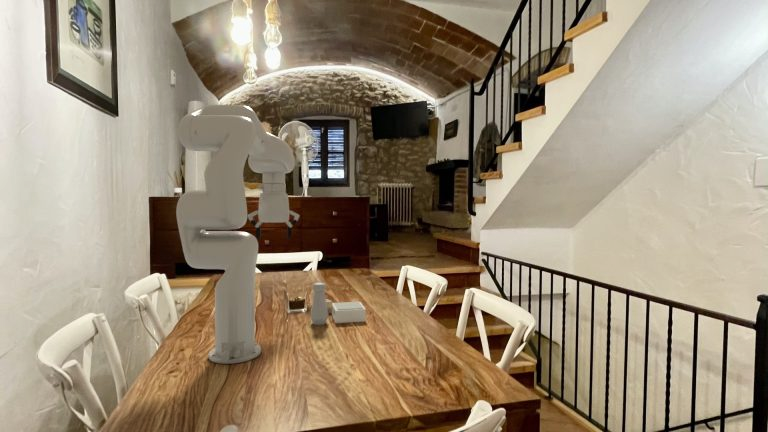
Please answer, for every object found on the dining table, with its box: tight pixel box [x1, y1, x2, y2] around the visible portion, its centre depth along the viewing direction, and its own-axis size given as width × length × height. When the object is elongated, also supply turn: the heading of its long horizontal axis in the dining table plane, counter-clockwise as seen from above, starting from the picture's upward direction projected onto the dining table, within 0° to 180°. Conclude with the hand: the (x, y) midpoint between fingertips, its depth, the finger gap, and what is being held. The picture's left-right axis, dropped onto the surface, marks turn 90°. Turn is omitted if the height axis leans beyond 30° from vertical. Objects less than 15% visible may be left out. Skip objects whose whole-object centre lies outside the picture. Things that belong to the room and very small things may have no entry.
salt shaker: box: [310, 282, 329, 326], centre depth 131 cm, size 6×6×13 cm
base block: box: [331, 301, 367, 324], centre depth 137 cm, size 10×10×4 cm
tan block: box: [325, 298, 334, 314], centre depth 144 cm, size 4×4×4 cm
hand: (274, 239), depth 141 cm, fingers open, 9 cm apart
